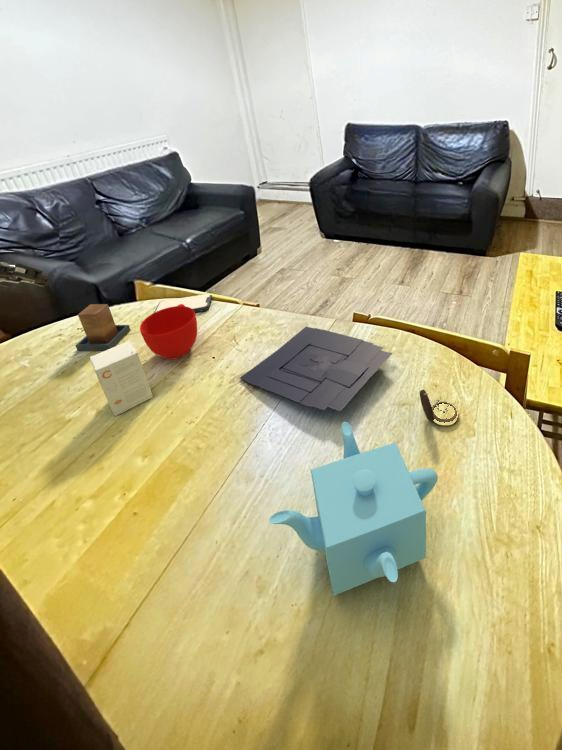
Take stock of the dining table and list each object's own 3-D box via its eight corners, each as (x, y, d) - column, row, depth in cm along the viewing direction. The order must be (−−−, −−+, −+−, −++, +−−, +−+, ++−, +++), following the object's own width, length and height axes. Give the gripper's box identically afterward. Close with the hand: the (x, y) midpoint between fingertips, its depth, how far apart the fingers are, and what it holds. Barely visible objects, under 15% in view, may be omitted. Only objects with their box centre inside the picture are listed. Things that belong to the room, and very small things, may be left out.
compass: (464, 423, 85) (465, 396, 82) (427, 432, 83) (427, 405, 80) (448, 395, 92) (449, 369, 89) (415, 403, 90) (414, 377, 87)
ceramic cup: (212, 325, 120) (204, 296, 116) (195, 364, 105) (186, 332, 101) (165, 330, 119) (156, 300, 115) (142, 370, 103) (130, 338, 99)
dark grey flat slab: (337, 428, 83) (333, 414, 82) (241, 388, 99) (237, 375, 98) (397, 358, 102) (396, 345, 101) (308, 334, 118) (306, 323, 117)
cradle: (77, 351, 111) (75, 345, 111) (100, 330, 120) (98, 325, 119) (110, 350, 111) (108, 345, 110) (130, 330, 119) (128, 324, 119)
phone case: (153, 320, 124) (208, 311, 127) (151, 316, 123) (207, 306, 126) (161, 304, 132) (213, 296, 135) (159, 300, 131) (212, 292, 134)
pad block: (89, 345, 113) (77, 314, 109) (101, 333, 118) (90, 304, 114) (107, 344, 113) (95, 314, 109) (118, 333, 117) (108, 303, 113)
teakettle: (443, 513, 68) (445, 450, 62) (397, 647, 53) (394, 580, 47) (345, 470, 76) (339, 411, 70) (280, 576, 61) (265, 512, 55)
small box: (145, 383, 99) (130, 339, 94) (153, 397, 95) (138, 352, 89) (107, 402, 94) (88, 356, 89) (114, 417, 90) (94, 370, 84)
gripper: (-1, 242, 80) (63, 266, 95) (-71, 243, 81) (4, 267, 96) (-15, 279, 78) (54, 298, 93) (-86, 280, 78) (-7, 299, 93)
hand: (28, 282), depth 94 cm, fingers open, 8 cm apart
